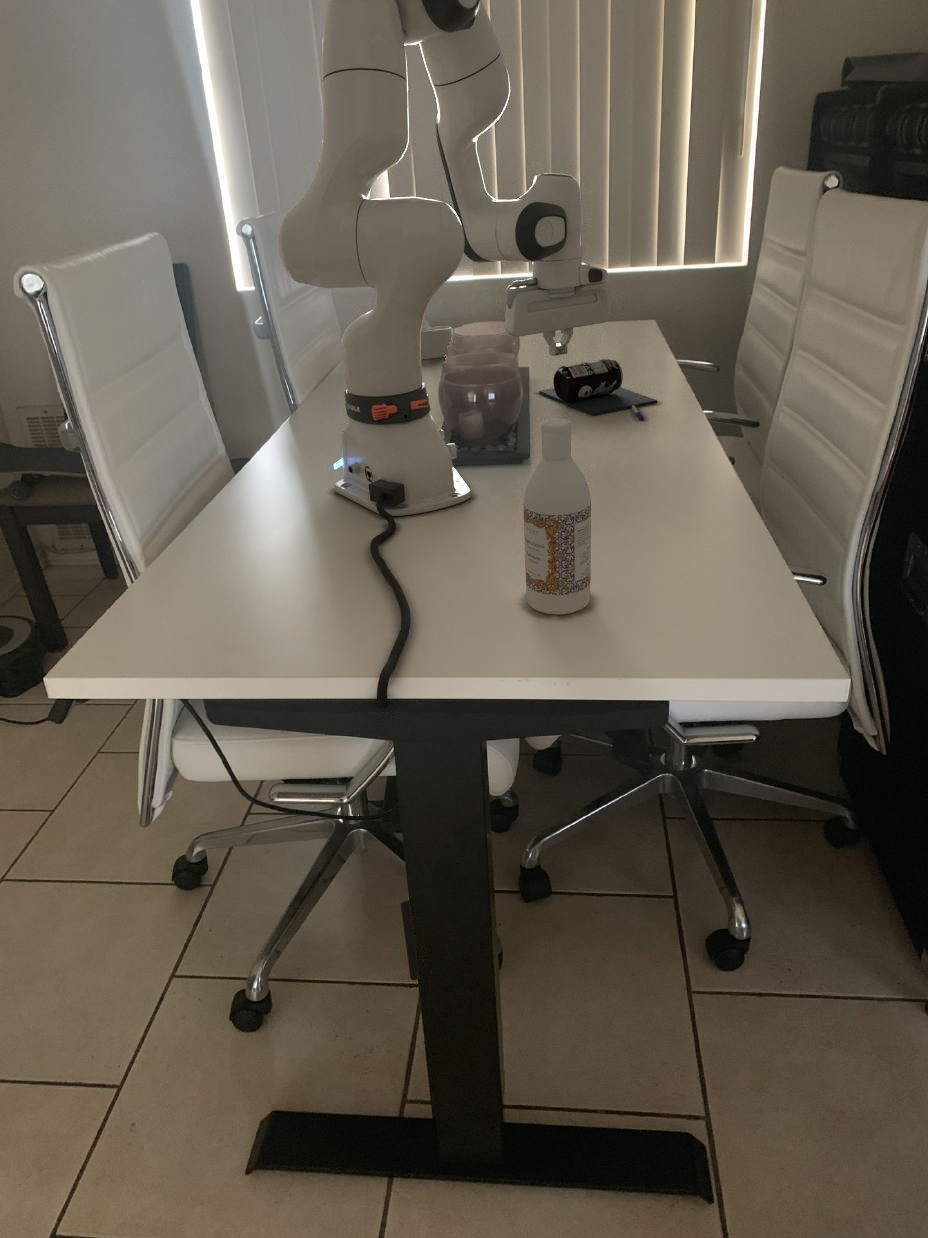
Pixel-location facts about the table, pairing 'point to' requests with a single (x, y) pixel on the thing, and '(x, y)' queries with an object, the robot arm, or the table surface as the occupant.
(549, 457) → the bath foam
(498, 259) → the robot arm
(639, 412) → the ballpoint pen
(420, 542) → the table surface
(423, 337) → the phone holder
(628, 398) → the mat
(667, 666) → the table surface
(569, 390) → the beverage can
